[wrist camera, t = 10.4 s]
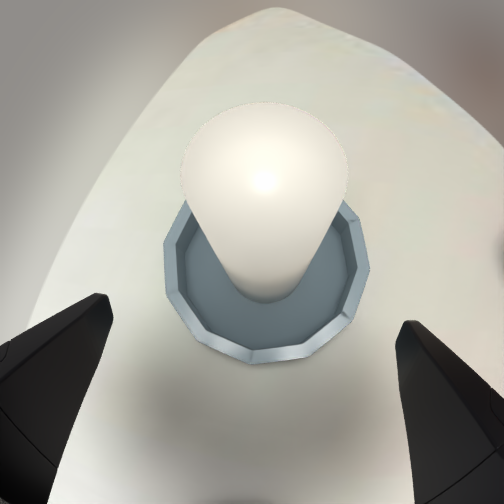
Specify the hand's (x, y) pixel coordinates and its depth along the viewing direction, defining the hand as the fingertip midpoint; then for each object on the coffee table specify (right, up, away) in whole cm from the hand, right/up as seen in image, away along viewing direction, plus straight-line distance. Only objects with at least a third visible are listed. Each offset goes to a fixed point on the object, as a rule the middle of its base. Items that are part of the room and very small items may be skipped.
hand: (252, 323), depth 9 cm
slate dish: (+1, +1, +14) cm, 14 cm away
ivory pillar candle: (+1, +1, +13) cm, 13 cm away
